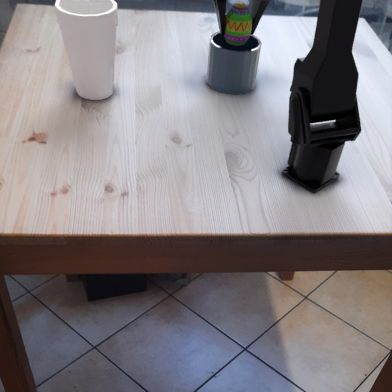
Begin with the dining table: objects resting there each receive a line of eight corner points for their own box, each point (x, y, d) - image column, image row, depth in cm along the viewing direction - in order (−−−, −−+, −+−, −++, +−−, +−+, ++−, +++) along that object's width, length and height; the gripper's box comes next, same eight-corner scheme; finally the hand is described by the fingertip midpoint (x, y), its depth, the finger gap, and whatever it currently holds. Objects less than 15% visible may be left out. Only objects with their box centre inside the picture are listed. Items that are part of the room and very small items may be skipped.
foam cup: (70, 106, 81) (57, 17, 71) (64, 80, 86) (51, -7, 76) (126, 102, 83) (122, 15, 73) (117, 77, 88) (112, -8, 78)
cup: (264, 85, 90) (272, 43, 85) (231, 99, 86) (237, 56, 81) (230, 67, 94) (234, 26, 88) (196, 79, 90) (199, 37, 84)
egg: (216, 39, 85) (219, -1, 80) (236, 34, 87) (241, -6, 82) (234, 50, 82) (239, 9, 78) (255, 44, 85) (261, 3, 80)
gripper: (202, -70, 65) (195, 56, 77) (330, -68, 68) (304, 52, 81) (183, -92, 71) (179, 28, 84) (301, -89, 75) (281, 25, 87)
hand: (236, 34), depth 84 cm, fingers closed on egg, 5 cm apart
